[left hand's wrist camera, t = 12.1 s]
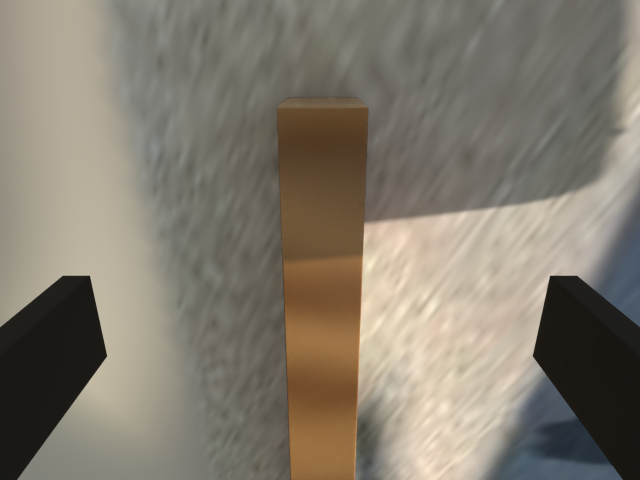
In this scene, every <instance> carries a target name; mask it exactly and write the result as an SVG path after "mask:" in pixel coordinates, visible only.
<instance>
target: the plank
mask: <svg viewBox="0 0 640 480" xmlns="http://www.w3.org/2000/svg"><path fill="white" fill-rule="evenodd" d="M277 124H278V151H279V178H280V205H281V232H282V260H283V287H284V314H285V341H286V368H287V396H288V423H289V450H290V477H291V480H355V453H356V426H357V399H358V372H359V345H360V319H361V292H362V265H363V238H364V211H365V184H366V157H367V130H368V107H367V106H366V105H364V104H363V103H362V102H361V101H360V100H359V99H358V98H286V99H285V100H284V101H283V102H282V104H281V105H280V106H279V107H278V108H277Z"/></svg>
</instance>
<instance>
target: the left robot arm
mask: <svg viewBox="0 0 640 480" xmlns="http://www.w3.org/2000/svg"><path fill="white" fill-rule="evenodd" d="M106 357H107V353H106V349H105V344H104V339H103V335H102V330H101V326H100V321H99V316H98V312H97V307H96V302H95V298H94V293H93V288H92V284H91V279H90V276H62V277H61V278H60V279H59V280H57V281H56V282H55V283H54V284H52V285H51V286H50V287H49V288H48V289H46V290H45V291H44V292H43V293H42V294H40V295H39V296H38V297H37V298H35V299H34V300H33V301H32V302H31V303H29V304H28V305H27V306H26V307H24V308H23V309H22V310H21V311H20V312H18V313H17V314H16V315H15V316H14V317H12V318H11V319H10V320H9V321H7V322H6V323H5V324H4V325H3V326H1V327H0V480H17V479H18V478H19V476H20V475H21V474H22V472H23V471H24V469H25V468H26V467H27V465H28V464H29V462H30V461H31V460H32V458H33V457H34V456H35V454H36V453H37V452H38V450H39V449H40V447H41V446H42V445H43V443H44V442H45V441H46V439H47V438H48V437H49V435H50V434H51V432H52V431H53V430H54V428H55V427H56V426H57V424H58V423H59V421H60V420H61V419H62V417H63V416H64V414H65V413H66V412H67V410H68V409H69V408H70V406H71V405H72V404H73V402H74V401H75V399H76V398H77V397H78V395H79V394H80V393H81V391H82V390H83V389H84V387H85V386H86V384H87V383H88V382H89V380H90V379H91V378H92V376H93V375H94V374H95V372H96V371H97V369H98V368H99V367H100V365H101V364H102V362H103V361H104V360H105V358H106ZM533 357H534V358H535V360H536V361H537V363H538V364H539V365H540V367H541V368H542V369H543V371H544V372H545V374H546V375H547V376H548V378H549V379H550V380H551V382H552V383H553V384H554V386H555V387H556V389H557V390H558V391H559V393H560V394H561V395H562V397H563V398H564V400H565V401H566V402H567V404H568V405H569V406H570V408H571V409H572V410H573V412H574V413H575V415H576V416H577V417H578V419H579V420H580V421H581V423H582V424H583V426H584V427H585V428H586V430H587V431H588V432H589V434H590V435H591V437H592V438H593V439H594V441H595V442H596V443H597V445H598V446H599V447H600V449H601V450H602V452H603V453H604V454H605V456H606V457H607V458H608V460H609V461H610V463H611V464H612V465H613V467H614V468H615V469H616V471H617V472H618V474H619V475H620V476H621V478H622V479H623V480H640V327H639V326H637V325H636V324H635V323H634V322H633V321H631V320H630V319H629V318H628V317H627V316H625V315H624V314H623V313H622V312H620V311H619V310H618V309H617V308H616V307H614V306H613V305H612V304H611V303H609V302H608V301H607V300H606V299H605V298H603V297H602V296H601V295H600V294H599V293H597V292H596V291H595V290H594V289H592V288H591V287H590V286H589V285H588V284H586V283H585V282H584V281H583V280H582V279H580V278H579V277H578V276H550V279H549V284H548V288H547V293H546V298H545V302H544V307H543V312H542V316H541V321H540V326H539V330H538V335H537V339H536V344H535V349H534V353H533Z"/></svg>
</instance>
